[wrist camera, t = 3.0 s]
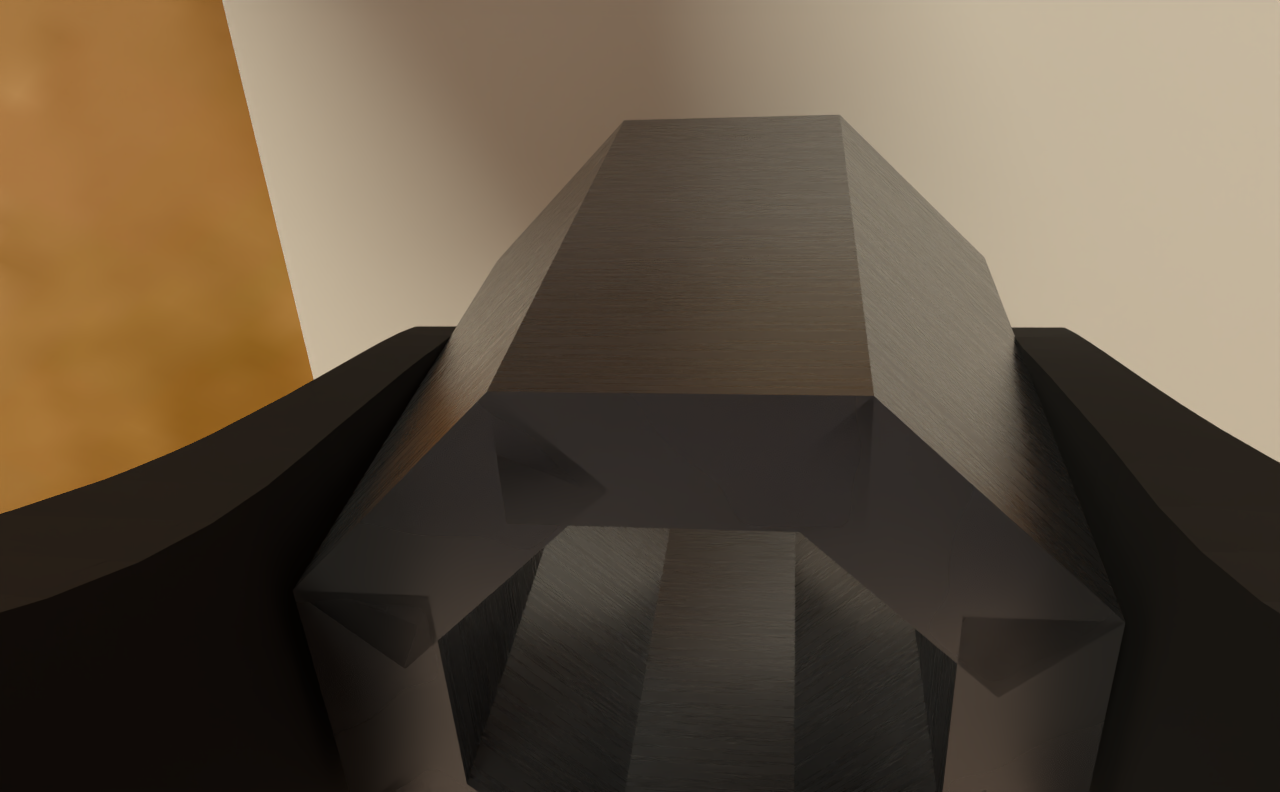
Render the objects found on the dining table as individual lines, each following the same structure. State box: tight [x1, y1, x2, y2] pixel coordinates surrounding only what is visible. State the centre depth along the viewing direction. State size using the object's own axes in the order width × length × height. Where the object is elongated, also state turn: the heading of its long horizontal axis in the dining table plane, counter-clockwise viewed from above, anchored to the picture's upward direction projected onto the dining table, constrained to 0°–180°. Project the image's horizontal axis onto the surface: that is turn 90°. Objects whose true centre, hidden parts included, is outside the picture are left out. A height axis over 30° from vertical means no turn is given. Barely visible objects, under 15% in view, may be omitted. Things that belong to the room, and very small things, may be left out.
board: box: [222, 0, 1280, 462], centre depth 18 cm, size 16×22×1 cm
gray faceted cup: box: [293, 115, 1125, 792], centre depth 10 cm, size 6×6×6 cm
